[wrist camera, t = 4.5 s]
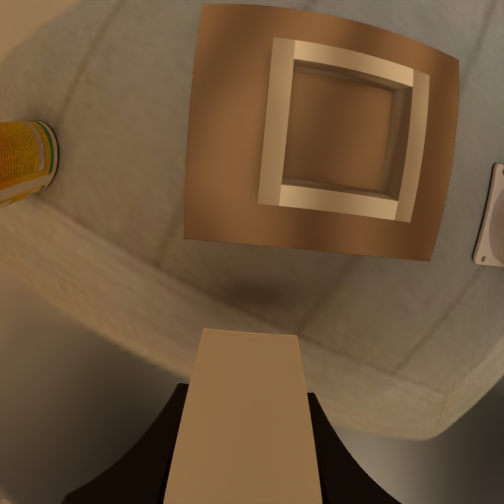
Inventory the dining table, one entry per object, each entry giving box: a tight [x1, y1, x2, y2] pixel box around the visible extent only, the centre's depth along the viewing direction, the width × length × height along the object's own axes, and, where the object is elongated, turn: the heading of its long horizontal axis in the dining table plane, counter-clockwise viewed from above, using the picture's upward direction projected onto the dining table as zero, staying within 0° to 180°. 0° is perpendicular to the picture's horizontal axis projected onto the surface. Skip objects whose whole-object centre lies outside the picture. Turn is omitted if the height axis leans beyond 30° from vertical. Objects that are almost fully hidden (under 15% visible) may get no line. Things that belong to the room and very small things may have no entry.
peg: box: [163, 328, 322, 504], centre depth 9 cm, size 4×4×8 cm
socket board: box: [184, 4, 459, 261], centre depth 14 cm, size 16×14×4 cm
